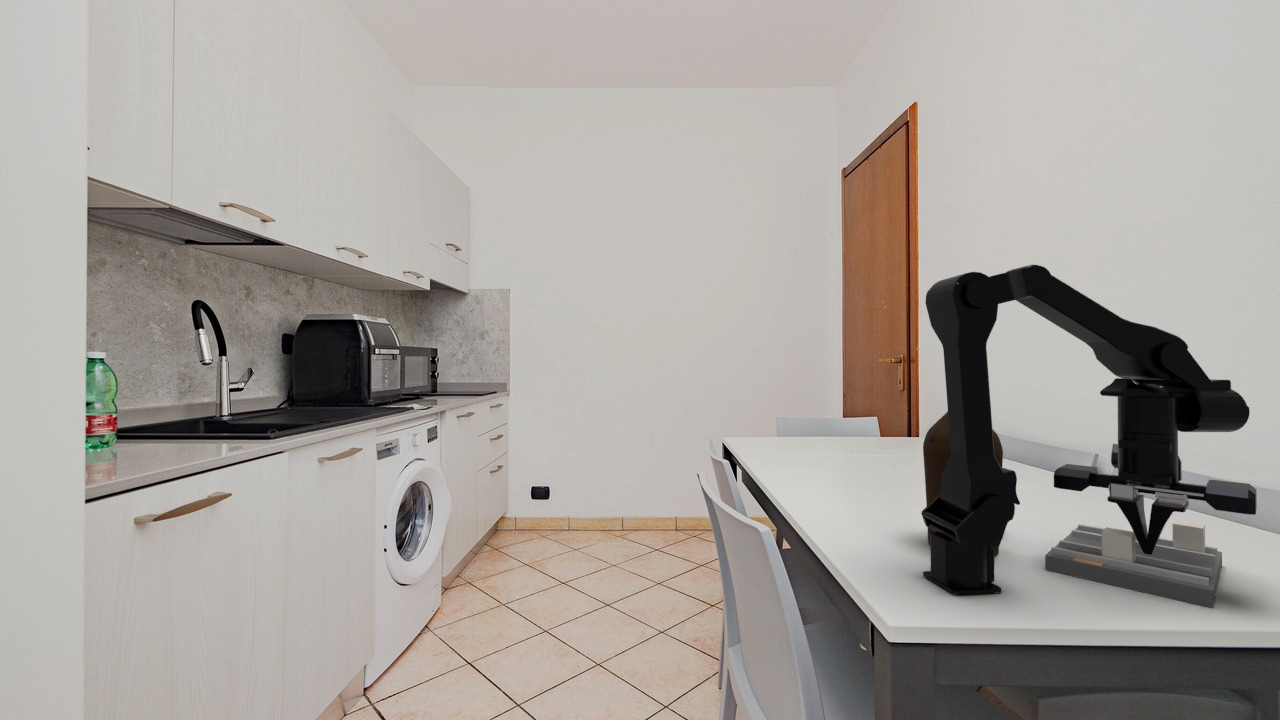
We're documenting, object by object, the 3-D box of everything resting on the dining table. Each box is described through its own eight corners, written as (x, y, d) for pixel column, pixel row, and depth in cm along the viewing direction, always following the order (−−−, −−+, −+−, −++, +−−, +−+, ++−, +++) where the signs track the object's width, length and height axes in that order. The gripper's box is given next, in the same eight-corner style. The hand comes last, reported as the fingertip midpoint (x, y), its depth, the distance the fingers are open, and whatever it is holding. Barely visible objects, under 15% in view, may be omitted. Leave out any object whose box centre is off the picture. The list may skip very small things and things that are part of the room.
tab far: (1203, 556, 74) (1203, 528, 75) (1172, 550, 77) (1172, 523, 77) (1205, 551, 76) (1204, 524, 77) (1175, 545, 79) (1174, 519, 79)
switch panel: (1212, 608, 64) (1212, 583, 64) (1045, 569, 76) (1045, 549, 76) (1222, 566, 77) (1221, 546, 77) (1078, 539, 89) (1078, 521, 89)
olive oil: (988, 566, 77) (986, 387, 78) (911, 546, 85) (910, 385, 86) (1014, 549, 84) (1012, 385, 84) (940, 533, 92) (939, 384, 92)
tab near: (1131, 565, 71) (1131, 536, 71) (1101, 559, 73) (1101, 531, 73) (1135, 560, 73) (1135, 532, 73) (1106, 554, 75) (1106, 527, 75)
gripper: (1256, 434, 69) (1258, 558, 69) (1071, 422, 83) (1072, 525, 83) (1254, 441, 62) (1256, 581, 62) (1052, 427, 76) (1053, 541, 76)
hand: (1148, 553), depth 71 cm, fingers closed
